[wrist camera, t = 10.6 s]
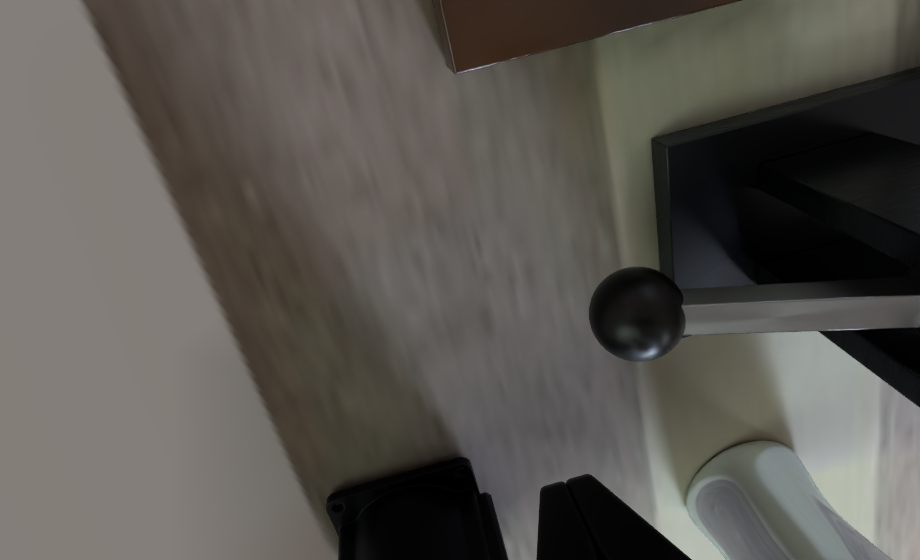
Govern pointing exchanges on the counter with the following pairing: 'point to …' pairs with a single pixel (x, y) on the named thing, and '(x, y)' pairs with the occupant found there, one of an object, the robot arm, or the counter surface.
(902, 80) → the black lever housing
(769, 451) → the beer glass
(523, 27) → the control block
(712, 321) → the lever with ball knob
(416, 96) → the counter surface
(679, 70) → the counter surface
